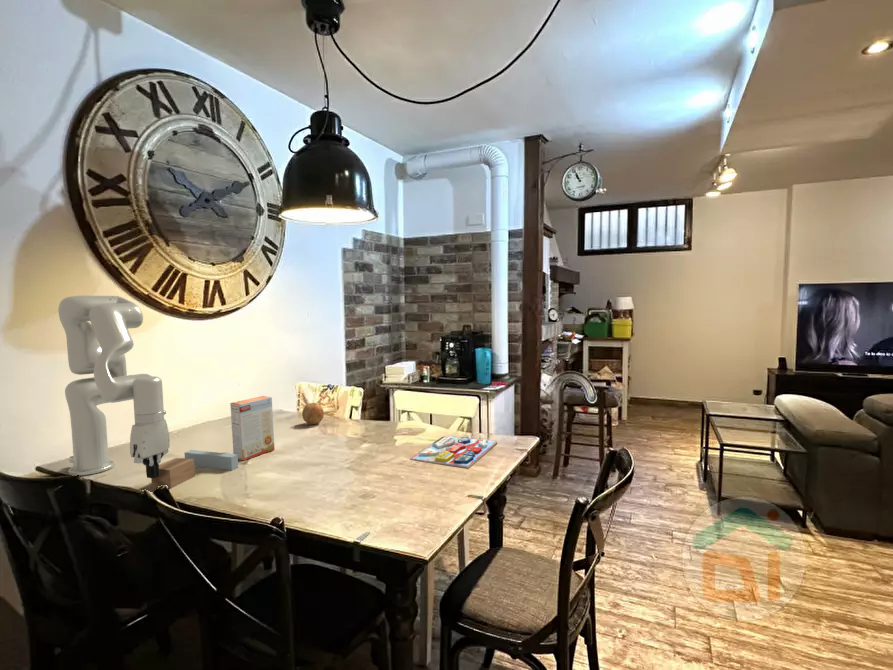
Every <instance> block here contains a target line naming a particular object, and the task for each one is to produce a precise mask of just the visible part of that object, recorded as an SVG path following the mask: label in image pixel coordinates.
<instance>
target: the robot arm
mask: <svg viewBox="0 0 893 670" xmlns="http://www.w3.org/2000/svg"><path fill="white" fill-rule="evenodd" d="M57 311H58V317H59V321H60V323H61V326H62V327H63V330H64V332H65V336H66V348H67V350H66V351H67V360H68V361H67V363H68V367H69V370H70V372H71V373H72V374H75V375H77V376H78V375H79V376H82V375H92V374H93V377H86V378H81V379H75V380H73V381H71V382H69V383H68V384H67V385H66V387H65V389H64V395H65V400H66V404H67V406H68V411H69V415H70V416H69V417H70V426H71V439H72V455H73V457H72V458H69V459H68V462H69V463H72V467H69V469H68V474H69V475H70V476H75V475H79V476H87V475H89V476H90V475H94V474H98V473H103V472H105V471H108V470H111V469H112V468H113V467H114V466H115V461H114V460H111V459H109V446H108V445H109V443H108V430H107V429H108V427H107V419H106V415H105V414H104V412H103V411H102V410H100V408H98V407H97V406H100V405H102V404H108V403H110V404H111V403H112V404H114V403H121V402H126V401H131V400H132V401H133V415H134V416H133V417H134V424H132V425H131V431H130V438H129V439H130V440H129V455H130V457H131V458H134V459H133V463H134V464H143V466H145V472H146V473H145V474H146V478H147V479H151V478H153V479H154V478H156V477H159V465H160V464H161V461H162V458H163V457H164V456H165V455H167V454H168V453H169V449H170V444H171V443H170V442H171V441H170V434H169V427H168V423H167V420H166V419H165V415H166V414H167V411H166V409H165V410H164V391H163V390H164V389H163V380H162V378H161V377H159V376H154V375H153V376H152V375H150V374H148V373H138V374H137V373H136V374H130V375H129V374H128V375H127V373H128V372H127V362H126V361H127V360H126V354H127V353H128V352H130V351H131V350H132V349H133V348H134V341H133V338H132V335H131V334H130V332H129V329H137V328H139V327H141V326H142V324H143V323H144V315H143V312H142V310H141V308H140V307H139V306H138V304H136V303H135V302H132V301H131V300H128V299H126V298H124V297H121V296H117V295H74V296H73V295H72V296H67V297H64V298H63V299H62V300H61V301H60V302H59V304H58V310H57ZM79 476H78V477H79Z"/></svg>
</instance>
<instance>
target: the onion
mask: <svg viewBox="0 0 893 670" xmlns="http://www.w3.org/2000/svg"><path fill="white" fill-rule="evenodd" d="M301 413H302V414H301V415H302V419H303V421H304V422H305V423H307V424H308V425H316V424H319V423H320V422H321V421H322V420H323V418H324V415H325V411H324V409H323V407H322V406H321V405H320V404H319V403H317V402H310V403H307V404H306V405H304V408H302V412H301Z"/></svg>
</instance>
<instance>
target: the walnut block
mask: <svg viewBox="0 0 893 670" xmlns="http://www.w3.org/2000/svg"><path fill="white" fill-rule="evenodd" d="M195 469H196V468H195V466H194V459H186V458H185V457H183V458H182V457H174V458H172V459H170V460H167V461H165V462H163V463H159V477H156V478H154V479H153V478H150V479H151V487H152V488H159V487H158V486H161V485H167V486H168V487H169V488H168V489H173V488H174V487H177V486H179V485H181V484H183V483H185V482H187V481H189V480H190V479H192V478H193V479H194V477H196V472H195Z"/></svg>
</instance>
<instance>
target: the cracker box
mask: <svg viewBox="0 0 893 670" xmlns="http://www.w3.org/2000/svg"><path fill="white" fill-rule="evenodd" d="M273 414H274V413H273V397H272V396H265V395H261V396H257V397H252V398H247V399H244V400H237V401H234V402H233V401H232V402H230V419H231V420H230V421H231V433H232V434H231V435H232V436H231V437H232V451H233V453H232V454H237V455H238V461H246V460H249V459H251V458H255V457H258V456H261V455H264V454H267V453H269V452H273V451H275V434H274V433H275V429H274V415H273Z"/></svg>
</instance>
